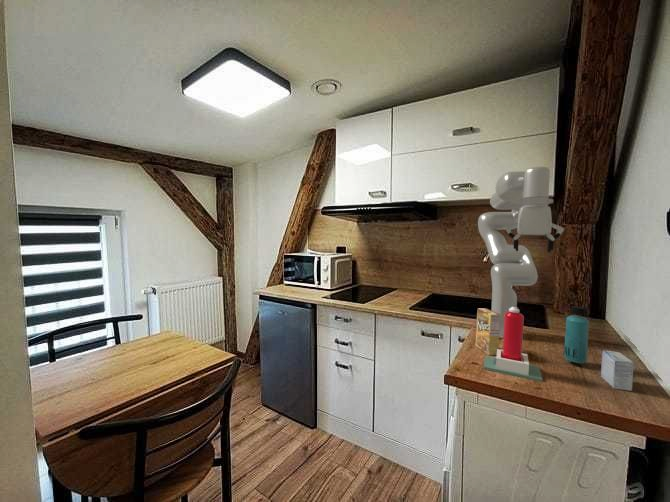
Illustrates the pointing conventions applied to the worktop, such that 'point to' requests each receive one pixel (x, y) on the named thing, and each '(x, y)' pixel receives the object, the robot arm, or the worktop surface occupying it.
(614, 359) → the medicine box
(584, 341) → the beverage bottle
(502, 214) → the robot arm
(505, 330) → the bottle
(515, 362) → the board
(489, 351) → the candy box
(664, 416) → the worktop surface
